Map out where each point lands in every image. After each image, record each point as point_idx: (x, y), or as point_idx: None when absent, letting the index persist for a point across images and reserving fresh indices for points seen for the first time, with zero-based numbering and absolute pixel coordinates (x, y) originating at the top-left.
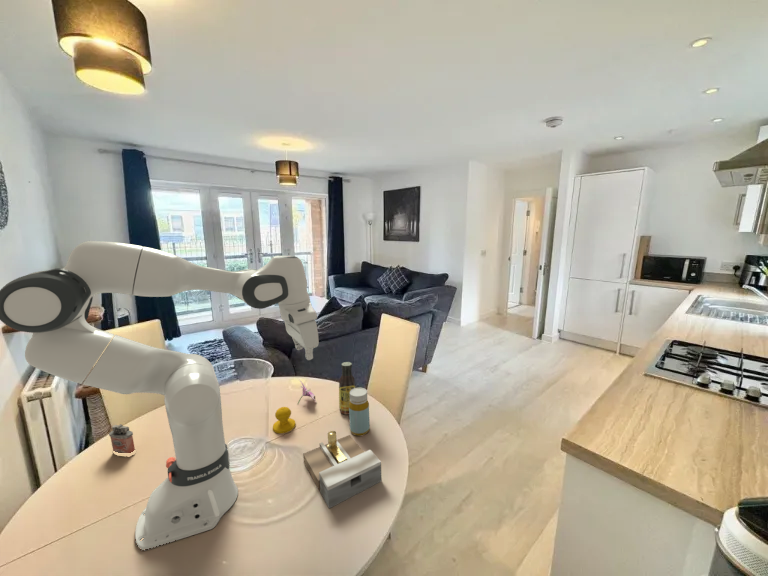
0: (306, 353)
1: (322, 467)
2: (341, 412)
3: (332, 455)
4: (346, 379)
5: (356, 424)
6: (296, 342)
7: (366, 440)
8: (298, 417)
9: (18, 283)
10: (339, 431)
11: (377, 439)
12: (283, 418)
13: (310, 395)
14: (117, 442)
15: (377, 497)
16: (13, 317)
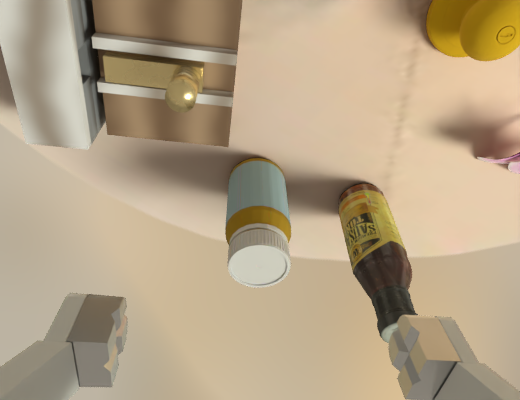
0: (12, 360)
1: (139, 7)
2: (361, 185)
3: (161, 59)
4: (372, 279)
5: (239, 182)
6: (469, 391)
7: (209, 168)
8: (467, 77)
9: None
10: (295, 138)
11: (194, 189)
12: (466, 15)
13: (506, 160)
14: None
15: (3, 76)
16: None
